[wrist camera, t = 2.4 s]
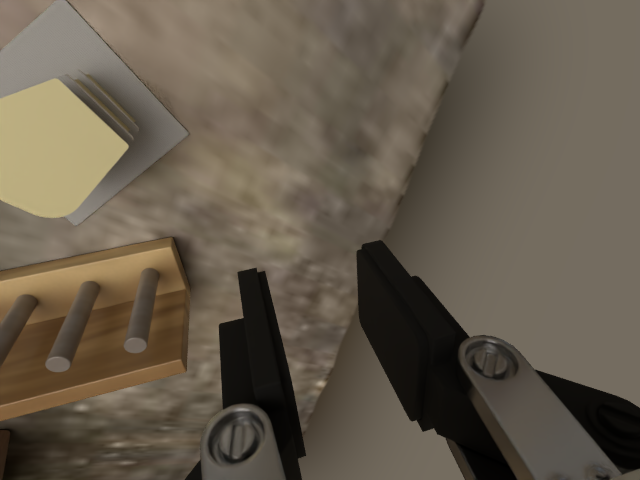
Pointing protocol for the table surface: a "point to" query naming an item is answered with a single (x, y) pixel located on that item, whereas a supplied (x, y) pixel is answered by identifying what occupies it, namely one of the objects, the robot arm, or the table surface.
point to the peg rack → (91, 325)
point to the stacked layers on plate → (73, 119)
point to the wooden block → (3, 449)
